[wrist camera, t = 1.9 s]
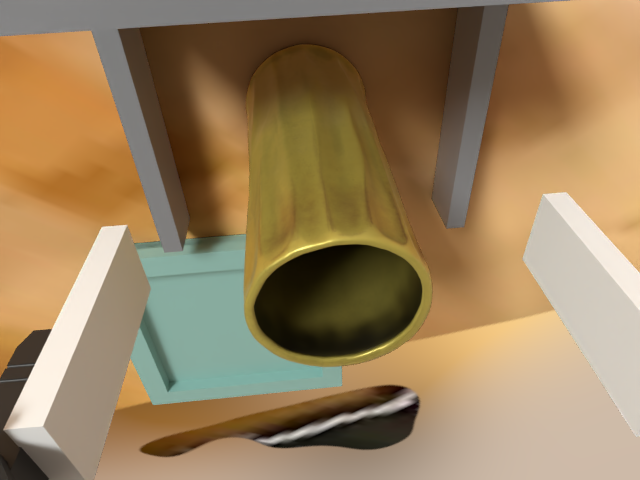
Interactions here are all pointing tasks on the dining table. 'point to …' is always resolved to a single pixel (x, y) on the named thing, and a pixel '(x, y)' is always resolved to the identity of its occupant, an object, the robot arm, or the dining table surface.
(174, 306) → the tray
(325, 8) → the dock
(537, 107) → the dining table surface
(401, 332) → the vase
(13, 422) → the robot arm
